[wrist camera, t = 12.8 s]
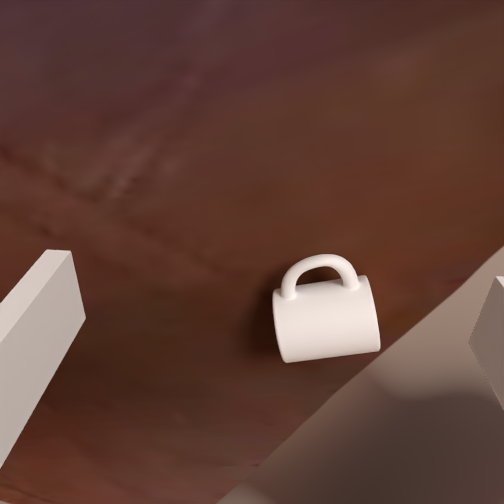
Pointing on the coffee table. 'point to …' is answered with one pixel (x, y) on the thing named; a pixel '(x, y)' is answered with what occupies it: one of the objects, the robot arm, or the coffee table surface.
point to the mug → (324, 313)
